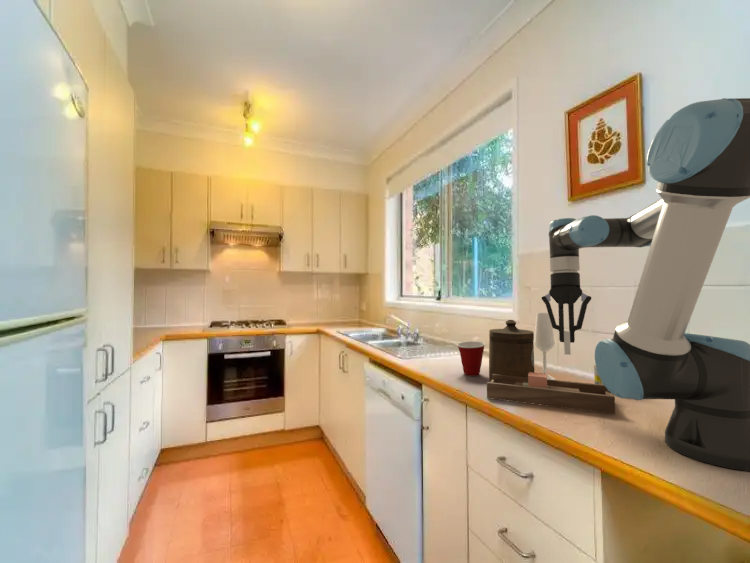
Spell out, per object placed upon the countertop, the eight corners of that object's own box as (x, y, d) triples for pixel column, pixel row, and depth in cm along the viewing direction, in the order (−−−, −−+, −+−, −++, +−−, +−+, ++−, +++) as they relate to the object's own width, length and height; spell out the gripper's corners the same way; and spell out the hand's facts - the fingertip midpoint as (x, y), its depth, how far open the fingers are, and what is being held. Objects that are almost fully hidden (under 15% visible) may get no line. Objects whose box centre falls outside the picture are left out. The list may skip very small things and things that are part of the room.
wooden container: (544, 386, 115) (543, 320, 116) (507, 390, 111) (505, 322, 112) (515, 375, 130) (514, 317, 130) (480, 379, 125) (479, 318, 126)
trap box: (615, 414, 89) (614, 396, 89) (486, 397, 103) (486, 382, 103) (607, 400, 100) (607, 385, 100) (492, 387, 114) (492, 373, 114)
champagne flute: (550, 376, 128) (549, 312, 129) (558, 381, 122) (557, 313, 122) (532, 376, 129) (530, 312, 130) (538, 380, 122) (537, 313, 123)
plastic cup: (451, 372, 135) (450, 342, 135) (472, 369, 140) (472, 340, 140) (469, 379, 125) (469, 346, 126) (492, 375, 130) (491, 344, 130)
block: (547, 391, 99) (546, 377, 99) (528, 389, 102) (528, 375, 102) (547, 387, 104) (546, 373, 104) (529, 385, 106) (528, 372, 106)
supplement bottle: (617, 389, 111) (616, 357, 111) (611, 392, 108) (611, 360, 108) (598, 385, 115) (597, 355, 116) (591, 389, 112) (591, 357, 112)
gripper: (589, 272, 101) (592, 353, 100) (540, 274, 106) (542, 350, 105) (592, 270, 94) (595, 357, 93) (539, 272, 100) (542, 354, 99)
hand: (567, 353), depth 99 cm, fingers closed
